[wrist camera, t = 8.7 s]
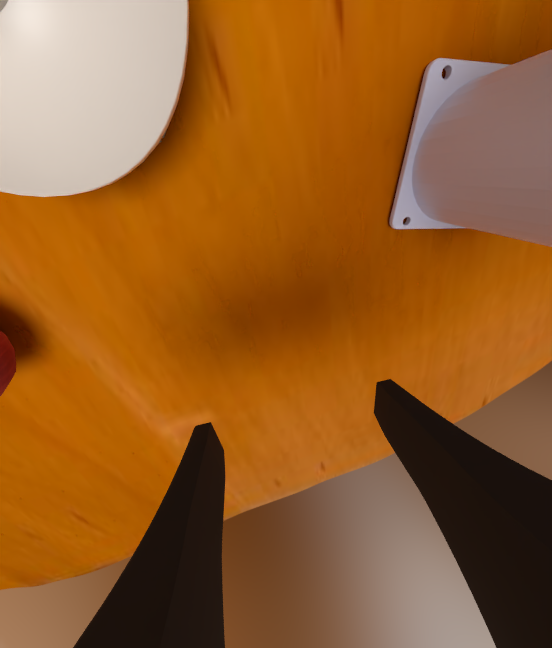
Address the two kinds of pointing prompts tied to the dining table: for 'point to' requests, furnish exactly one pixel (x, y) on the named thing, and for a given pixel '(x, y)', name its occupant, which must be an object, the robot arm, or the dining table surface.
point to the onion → (6, 362)
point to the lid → (85, 89)
